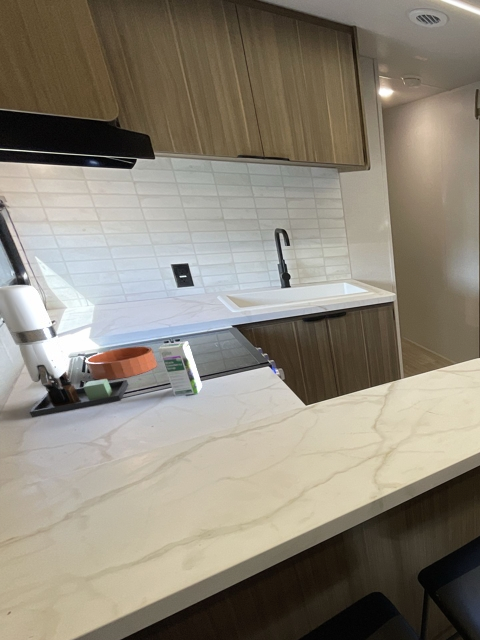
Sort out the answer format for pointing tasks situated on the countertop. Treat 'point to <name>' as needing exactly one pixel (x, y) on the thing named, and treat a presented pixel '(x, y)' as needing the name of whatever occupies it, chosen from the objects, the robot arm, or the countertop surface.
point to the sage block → (97, 389)
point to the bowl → (121, 363)
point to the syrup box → (180, 368)
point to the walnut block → (71, 393)
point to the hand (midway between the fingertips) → (65, 398)
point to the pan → (79, 400)
